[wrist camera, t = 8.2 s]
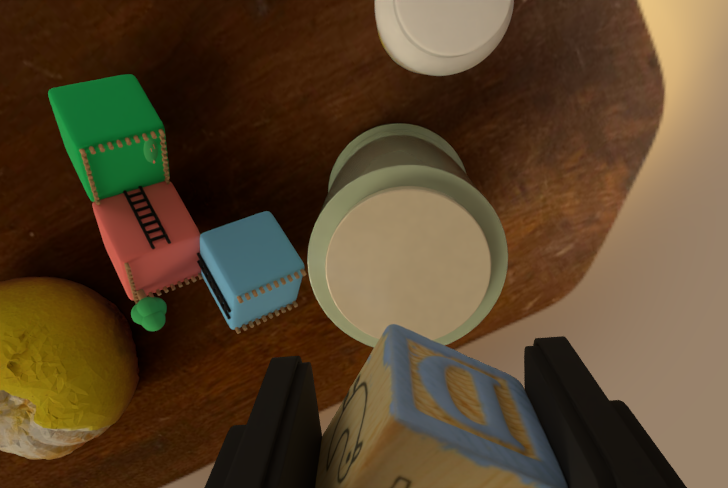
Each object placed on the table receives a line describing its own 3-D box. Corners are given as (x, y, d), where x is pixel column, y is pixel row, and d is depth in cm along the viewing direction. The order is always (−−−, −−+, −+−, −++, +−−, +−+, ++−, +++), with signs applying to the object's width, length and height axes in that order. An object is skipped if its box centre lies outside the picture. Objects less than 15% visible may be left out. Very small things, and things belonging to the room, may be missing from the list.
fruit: (-66, 292, 32) (-156, 344, 24) (109, 240, 34) (76, 274, 26) (13, 443, 35) (-45, 530, 28) (169, 388, 37) (155, 456, 29)
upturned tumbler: (464, 115, 28) (520, 147, 17) (469, 251, 31) (522, 360, 19) (320, 130, 29) (280, 171, 17) (337, 263, 31) (312, 375, 20)
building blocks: (209, 158, 34) (300, 306, 30) (75, 196, 30) (155, 373, 26) (207, 56, 28) (322, 225, 23) (37, 88, 24) (136, 297, 19)
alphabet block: (524, 379, 10) (580, 497, 8) (447, 489, 11) (470, 632, 9) (389, 314, 10) (392, 413, 7) (320, 434, 11) (299, 563, 8)
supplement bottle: (475, -52, 26) (528, -119, 16) (488, 62, 27) (543, 60, 18) (367, -28, 26) (359, -80, 17) (386, 83, 28) (388, 91, 19)
